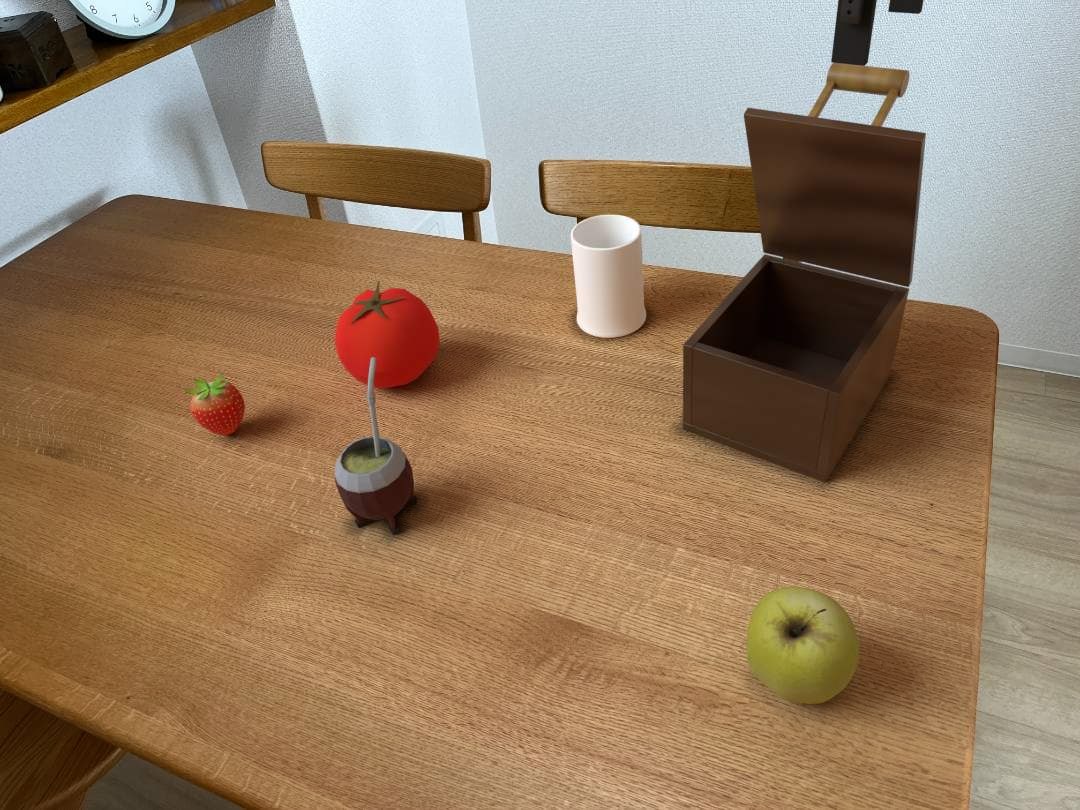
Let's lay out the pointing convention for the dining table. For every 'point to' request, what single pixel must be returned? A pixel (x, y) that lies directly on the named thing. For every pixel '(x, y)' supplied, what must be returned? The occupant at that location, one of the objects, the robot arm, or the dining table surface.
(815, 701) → the apple
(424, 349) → the tomato
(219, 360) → the dining table surface
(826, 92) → the lid
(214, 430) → the fruit
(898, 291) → the chest
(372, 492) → the mate gourd
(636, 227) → the mug
